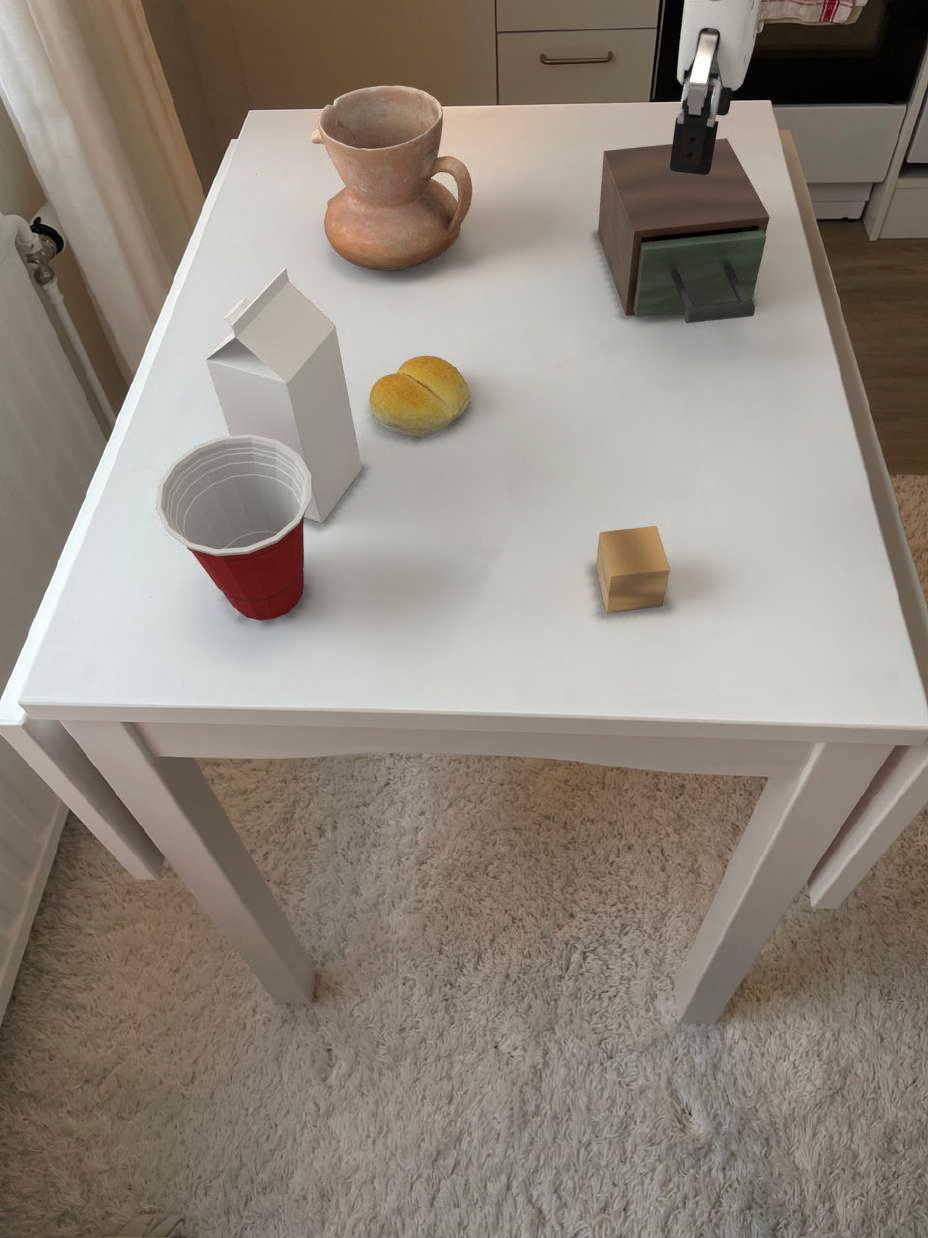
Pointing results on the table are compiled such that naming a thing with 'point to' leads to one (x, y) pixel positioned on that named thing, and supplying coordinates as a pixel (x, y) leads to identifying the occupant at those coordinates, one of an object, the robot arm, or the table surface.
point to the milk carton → (289, 386)
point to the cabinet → (668, 204)
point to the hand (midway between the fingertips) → (699, 140)
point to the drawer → (699, 274)
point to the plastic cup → (242, 519)
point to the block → (632, 568)
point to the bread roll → (420, 397)
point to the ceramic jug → (390, 178)
